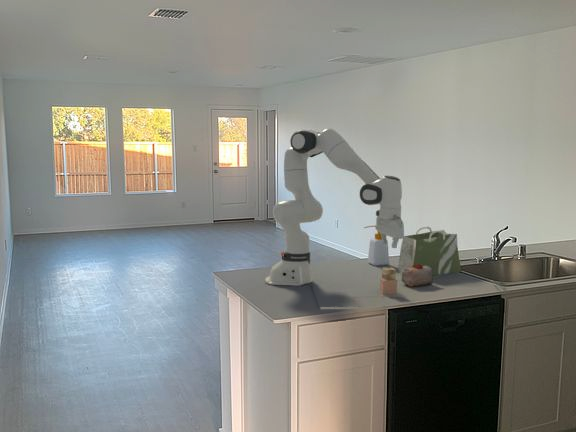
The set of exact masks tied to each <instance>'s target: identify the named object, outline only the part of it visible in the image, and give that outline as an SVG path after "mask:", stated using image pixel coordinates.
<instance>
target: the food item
mask: <svg viewBox="0 0 576 432" xmlns="http://www.w3.org/2000/svg"><path fill="white" fill-rule="evenodd" d="M401 282H402V283H404V285H406V286H408V287H410V288H415V287H421V286H428V285H432V284H433V275H432V269H431V268H430V267H428V266H421V265H420V264H419V265H416V264H415V263H414V265H413V266H412V268H407V269H404V271H403V272H402V274H401Z"/></svg>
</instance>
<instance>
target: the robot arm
mask: <svg viewBox="0 0 576 432" xmlns="http://www.w3.org/2000/svg"><path fill="white" fill-rule="evenodd" d="M290 137H291V138H290V142H289V143H290V147H289V148H287V149H286V150H285V153H284V158H283V159H284V160H283V173H284V174H283V176H284V177H283V178H284V187H285V189H286V190H287V191H288V192H290V193H292V194H293V196H294V200H283V201H280V202H276V203H275V204H274V205H273V208H272V217H273V219H274V221H275V222H276V223H277V224H279V225H280V227H281V229H282V230H283V233H284V236H285V251H281V252H280V256H281V260H279V262H277V263H276V264H275V265H273V266H272V267H271V268H270V272H269V275H268V276H266V277H265V280H264V281H265V283H266V284H268V285H271V286H272V285H273V286H275V285H276V286H295V287H297V286H298V287H299V286H302V285H306V284H311V283H312V282H313V277H312V274H311V266H310V265H311V252H310V236H309V234H308V233H307V232H305V231H303V230H302V229H301V224H304V223H312V222H316V221H318V220H320V219H321V218H322V215H323V213H324V210H323V206H322V204H321V202H320V201H318V200H317V199H316V198H315V197H314V195H313V194H312V190H311V188H310V184H309V175H308V159H309V158H314V157H317V156H318V155H320V154H322V153H323V155H325V156H326V158H327V159H328V160H329V162H330V163H331V164H332V165H334V166H335V167H336V168H338V169H340V170H344V171H348V172H351V173H353V174H355V175H357V176H358V177H359V179H360V180H361V181H363V183H364V185H362V186H361V188H360V190H359V198H360V200H361V202H362V203H363V204H364V205H368V206H375V205H379V206H380V207H379V209H378V210H376V211H375V216H376V221H375V222H376V224H375V225H376V227H375V230H376V229H377V230H376V232H377V233H378V232H379V233H381V237H382V243H383V244H387V241H388V239H387V237H390V238H392V243H391V248H392V249H397V247H398V243H399V240H403V237H404V236H405V226H404V221H403V219H402V203H401V200H402V195H403V193H402V192H403V188H402V187H403V186H402V181H401V179H400V178H399V177H397V176H394V175H383V176H381V177H380V176H378V174H377V173H376V172H374V171H373V169H372V168H371V167H370V166H369V165H368V164H367V163H366V162H365V161H364V160H363V159H362V158H361V157H360V155H358V153H356V151H355V150H354V149H353V147H351V145H349V143H348V142H347V141H346V139H344V137H343V136H341V134H340V133H339V132H338V131H336V130H335V129H334V128H326V129H324V130H322V131H321V132H319V131H315V130H309V129H308V130H305V129H300V130H297V131H295V132H294V133H293V134H292V135H291V136H290Z"/></svg>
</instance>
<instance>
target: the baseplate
mask: <svg viewBox="0 0 576 432" xmlns="http://www.w3.org/2000/svg"><path fill="white" fill-rule="evenodd" d="M344 290H345V292H346V293H347V295H348V297H349V298H404V297H405V298H406V297H407V296H406V295H405V294H404V293H403V292H402V291H401V290H400V289H399V288H398V287H397V294H382V293H381V291H380V288H344Z"/></svg>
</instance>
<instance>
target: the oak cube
mask: <svg viewBox="0 0 576 432" xmlns="http://www.w3.org/2000/svg"><path fill="white" fill-rule="evenodd" d="M381 277H382V278H383V279H384V280H397V278H396V277H397V269H396V268H393V267H382V268H381Z"/></svg>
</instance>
